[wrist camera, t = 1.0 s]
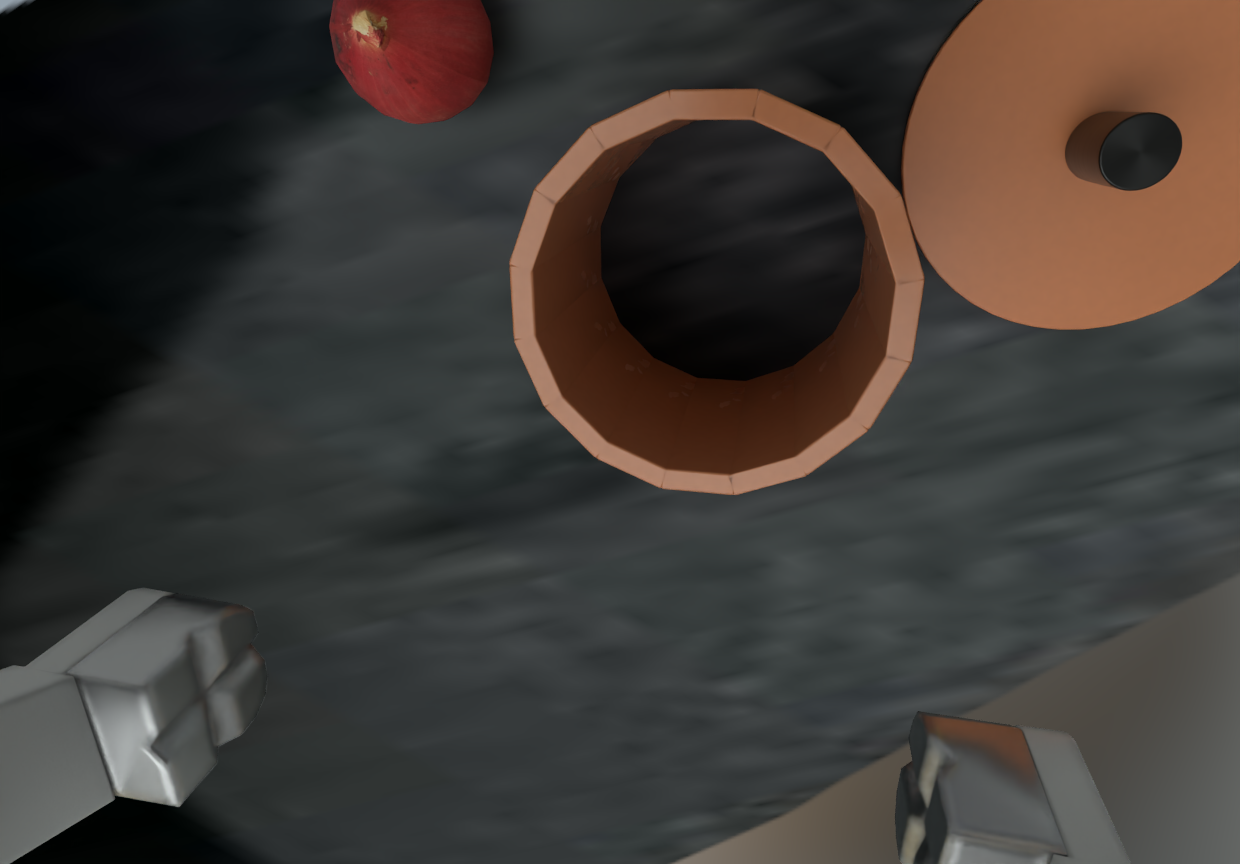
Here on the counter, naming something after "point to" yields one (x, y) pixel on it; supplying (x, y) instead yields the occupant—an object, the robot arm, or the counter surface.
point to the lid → (1079, 157)
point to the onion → (413, 54)
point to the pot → (667, 397)
